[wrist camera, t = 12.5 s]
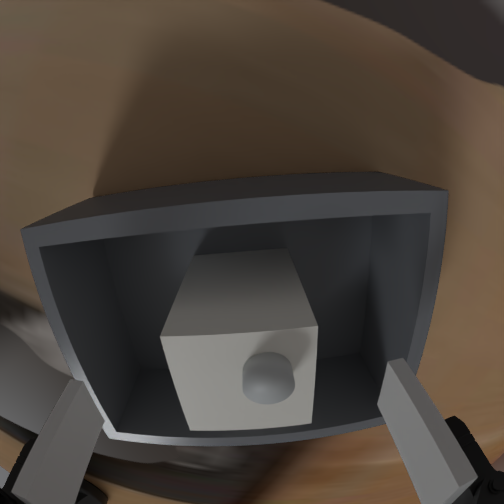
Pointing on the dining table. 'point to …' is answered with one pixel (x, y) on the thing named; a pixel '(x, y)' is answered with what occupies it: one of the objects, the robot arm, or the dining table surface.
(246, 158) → the dining table surface
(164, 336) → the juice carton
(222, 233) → the bin
